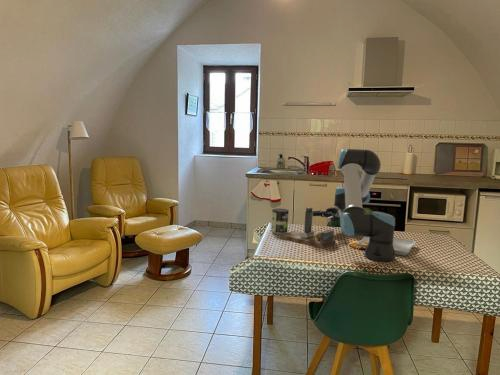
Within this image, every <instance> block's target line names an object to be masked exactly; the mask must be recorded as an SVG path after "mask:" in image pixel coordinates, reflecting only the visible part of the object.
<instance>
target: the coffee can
mask: <svg viewBox="0 0 500 375" xmlns="http://www.w3.org/2000/svg"><path fill="white" fill-rule="evenodd" d="M271 211H272V212H271V213H272V214H271V233H272V234H277V235H283V234H286V233H288V228H289V227H288V226H289V209H287V208H286V209H285V208H273V209H272V210H271Z"/></svg>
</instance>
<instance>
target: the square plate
mask: <svg viewBox="0 0 500 375" xmlns="http://www.w3.org/2000/svg"><path fill="white" fill-rule="evenodd" d="M369 238H370V237H363V238H362V239H360V240H359V241H358V242H357V243H356V244H357V246H358V247H359V248H362V247H365V248H364V249H366V247H367V245H363V244H362V243H364V242H369ZM415 244H417V241H416V240H411V239H406V238H400V237H395V236H394V237H393V247H394V252H395V255H400V256H405V255H408V254H409V253H410V252H411V250H412V248H413V246H414V245H415Z"/></svg>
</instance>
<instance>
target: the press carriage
mask: <svg viewBox="0 0 500 375" xmlns="http://www.w3.org/2000/svg"><path fill="white" fill-rule="evenodd" d="M312 211H313V207H306V208H305V213H304V214H305V216H304V229H303V230H304V231H301V238H305V239H307V238H310V237H313V236H314V235H315V234H316V233H315V230H312V228H313V227H312V226H313V217H312V214H313V212H312Z"/></svg>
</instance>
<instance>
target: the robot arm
mask: <svg viewBox="0 0 500 375" xmlns="http://www.w3.org/2000/svg"><path fill="white" fill-rule="evenodd" d="M338 156H339V157H338V160H337V161H338V162H337V169H339V170H340V172H341V173H342V174H343V181H344V186H337V187H336V188H335V192H334V203H333V205H334V206H330V207H327V209H326V210H321V209H319V210H312V212H313V214H312V218H313V217H322V218H326V223H330V222H333V221H336V222H339V224H340V230H341V233H342V234H343V235H344V236H347V237H348V236H349V237H363V238H364V237H370V238H369V243H368V245H367V247H366V248H365V250H364V257H365V258H367V259H369V260H372V261H376V262H387V263H390V262H394V261H395V260H396V254H395V252H394V247H393V237H395V236H394V235H395V227H396V218H395V217H394V216H393V215H392V214H389V213H386V212H381V211H377V210H376V211H374V210H373V211H371V213H367V211H366V208H364V207H363V204H368V203H370V200H371V193H370V189H371V187H372V185H373V182H374V181H375V178H376V175H377V174H379V172H380V170H381V160H380V157H378V154H376V153H375V152H374V151H373V150H369V149H359V148H358V149H357V148H342V149H340V151H339V155H338ZM360 174H361V176H360Z"/></svg>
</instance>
